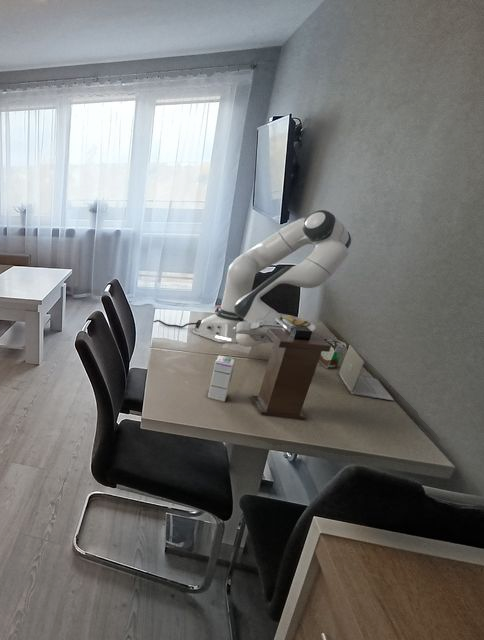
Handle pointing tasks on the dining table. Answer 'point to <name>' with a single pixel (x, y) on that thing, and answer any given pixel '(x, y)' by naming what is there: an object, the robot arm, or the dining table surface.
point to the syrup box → (221, 378)
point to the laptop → (360, 378)
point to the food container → (332, 353)
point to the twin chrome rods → (295, 330)
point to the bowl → (298, 322)
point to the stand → (288, 374)
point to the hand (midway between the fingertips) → (275, 326)
